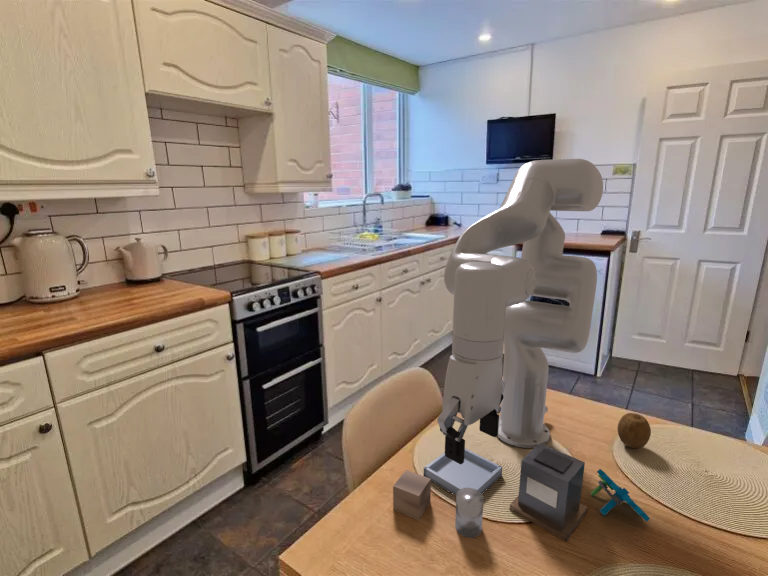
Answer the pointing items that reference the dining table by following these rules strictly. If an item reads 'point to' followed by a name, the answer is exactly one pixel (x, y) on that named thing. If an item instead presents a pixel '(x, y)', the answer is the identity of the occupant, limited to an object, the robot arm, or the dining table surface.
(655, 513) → the dining table surface
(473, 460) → the tray
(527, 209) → the robot arm
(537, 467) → the box with rectangular openings
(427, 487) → the block
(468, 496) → the metal cylinder
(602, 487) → the blue green-pegged part
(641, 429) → the fruit
